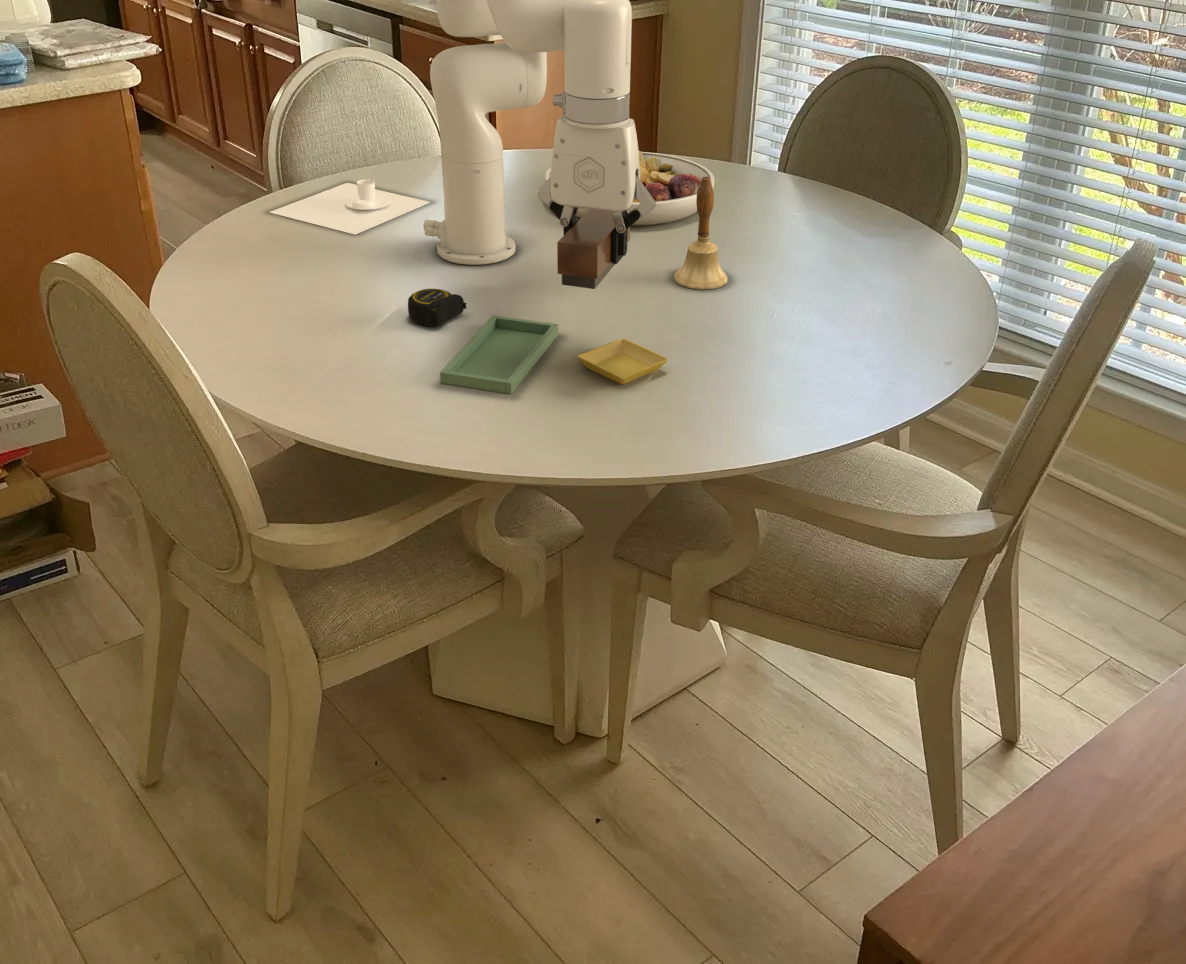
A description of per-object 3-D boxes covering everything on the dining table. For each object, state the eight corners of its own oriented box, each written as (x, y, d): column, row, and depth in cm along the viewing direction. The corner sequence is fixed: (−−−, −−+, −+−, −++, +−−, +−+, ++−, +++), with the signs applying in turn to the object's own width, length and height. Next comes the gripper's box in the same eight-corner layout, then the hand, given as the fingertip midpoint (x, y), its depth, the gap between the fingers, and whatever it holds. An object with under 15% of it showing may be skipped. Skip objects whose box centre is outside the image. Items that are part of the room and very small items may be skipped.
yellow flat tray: (622, 351, 156) (623, 336, 155) (669, 372, 151) (669, 358, 150) (575, 370, 151) (575, 355, 150) (621, 393, 146) (622, 378, 145)
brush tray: (440, 386, 147) (439, 372, 146) (493, 328, 162) (492, 314, 161) (511, 397, 145) (511, 383, 144) (558, 337, 160) (558, 323, 159)
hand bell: (724, 292, 174) (732, 187, 165) (670, 287, 175) (675, 183, 167) (730, 271, 181) (738, 170, 172) (677, 267, 182) (682, 166, 174)
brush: (557, 285, 139) (557, 241, 136) (592, 246, 150) (593, 205, 147) (597, 291, 138) (597, 246, 135) (629, 250, 149) (630, 209, 146)
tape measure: (436, 335, 160) (435, 310, 158) (398, 323, 163) (396, 298, 161) (467, 318, 165) (466, 293, 163) (430, 307, 168) (428, 283, 166)
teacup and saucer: (367, 216, 200) (364, 193, 198) (332, 208, 204) (330, 185, 202) (400, 202, 207) (398, 180, 204) (366, 194, 210) (364, 172, 208)
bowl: (510, 204, 206) (509, 161, 202) (617, 167, 226) (618, 126, 222) (642, 245, 190) (643, 198, 186) (745, 201, 210) (748, 158, 205)
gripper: (516, 109, 133) (520, 259, 143) (659, 122, 129) (653, 276, 138) (538, 94, 139) (540, 239, 149) (676, 106, 135) (669, 255, 144)
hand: (595, 255), depth 143 cm, fingers closed on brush, 5 cm apart
